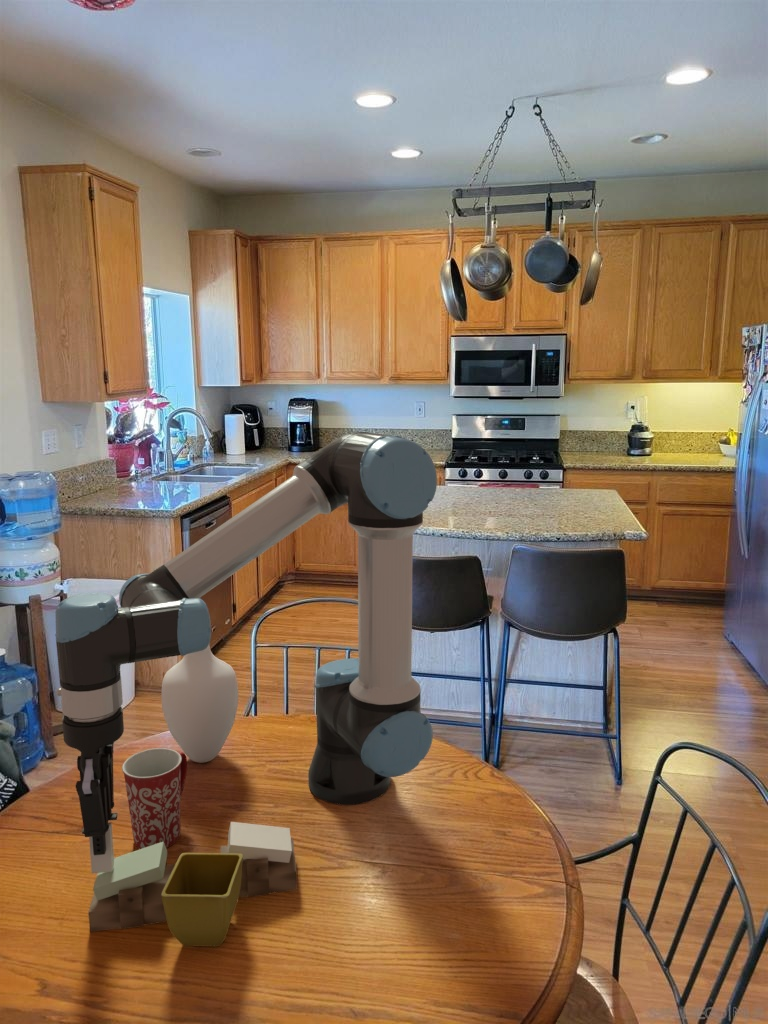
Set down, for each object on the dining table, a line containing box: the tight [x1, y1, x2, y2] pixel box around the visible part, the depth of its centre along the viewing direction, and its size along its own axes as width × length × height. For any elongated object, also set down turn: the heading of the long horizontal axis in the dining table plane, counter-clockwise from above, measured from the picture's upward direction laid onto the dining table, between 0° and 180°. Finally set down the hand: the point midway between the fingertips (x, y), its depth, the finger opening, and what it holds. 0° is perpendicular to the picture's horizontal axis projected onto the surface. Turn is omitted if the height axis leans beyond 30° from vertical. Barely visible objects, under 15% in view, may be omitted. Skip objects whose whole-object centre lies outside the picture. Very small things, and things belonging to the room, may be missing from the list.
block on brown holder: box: [219, 837, 298, 899], centre depth 108 cm, size 11×8×5 cm
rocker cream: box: [227, 821, 292, 863], centre depth 108 cm, size 9×6×2 cm, turn 101°
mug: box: [121, 747, 188, 850], centre depth 118 cm, size 13×9×14 cm
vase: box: [161, 644, 239, 763], centre depth 140 cm, size 14×14×28 cm
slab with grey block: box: [87, 863, 176, 933], centre depth 102 cm, size 11×8×5 cm
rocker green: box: [92, 842, 168, 901], centre depth 102 cm, size 9×6×2 cm, turn 100°
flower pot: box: [161, 852, 243, 947], centre depth 97 cm, size 9×9×9 cm
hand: (103, 868), depth 101 cm, fingers closed
